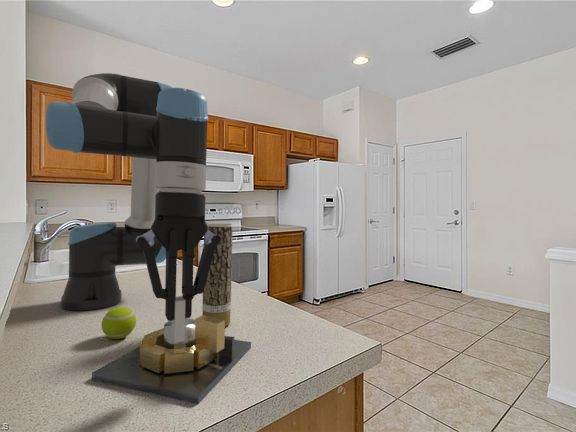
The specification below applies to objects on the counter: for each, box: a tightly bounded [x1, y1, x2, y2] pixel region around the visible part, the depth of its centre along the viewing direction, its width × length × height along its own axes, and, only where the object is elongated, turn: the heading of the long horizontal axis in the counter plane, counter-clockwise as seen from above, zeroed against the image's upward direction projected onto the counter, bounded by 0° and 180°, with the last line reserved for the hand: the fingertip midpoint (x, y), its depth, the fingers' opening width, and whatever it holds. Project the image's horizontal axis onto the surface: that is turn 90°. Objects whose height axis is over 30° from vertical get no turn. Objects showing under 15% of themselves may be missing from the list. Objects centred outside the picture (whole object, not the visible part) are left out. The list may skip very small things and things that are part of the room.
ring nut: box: [139, 315, 226, 374], centre depth 59 cm, size 16×13×8 cm
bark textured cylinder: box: [201, 222, 234, 328], centre depth 78 cm, size 7×7×25 cm
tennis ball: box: [101, 306, 137, 340], centre depth 70 cm, size 7×7×7 cm
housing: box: [91, 318, 252, 405], centre depth 60 cm, size 20×20×7 cm
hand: (177, 338), depth 51 cm, fingers closed
